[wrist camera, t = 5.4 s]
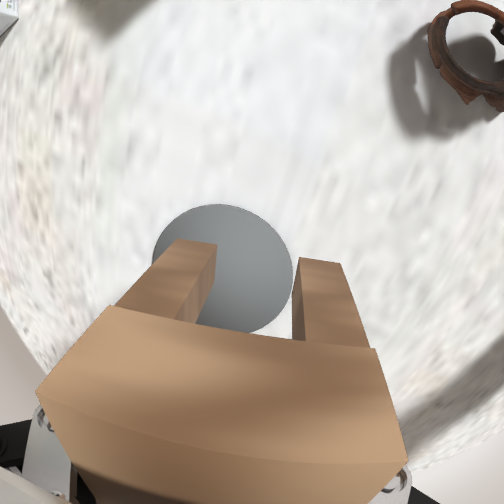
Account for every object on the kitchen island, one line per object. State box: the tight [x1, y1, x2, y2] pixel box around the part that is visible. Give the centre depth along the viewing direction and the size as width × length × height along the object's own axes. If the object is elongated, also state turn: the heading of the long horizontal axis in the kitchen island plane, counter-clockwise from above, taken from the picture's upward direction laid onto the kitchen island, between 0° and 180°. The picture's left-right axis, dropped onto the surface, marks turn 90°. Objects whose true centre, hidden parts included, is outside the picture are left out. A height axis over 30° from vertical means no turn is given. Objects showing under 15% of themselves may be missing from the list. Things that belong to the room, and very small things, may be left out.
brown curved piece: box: [428, 0, 504, 112], centre depth 15 cm, size 12×10×8 cm
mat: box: [153, 204, 293, 333], centre depth 27 cm, size 12×12×1 cm
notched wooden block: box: [35, 238, 408, 504], centre depth 9 cm, size 6×8×8 cm
